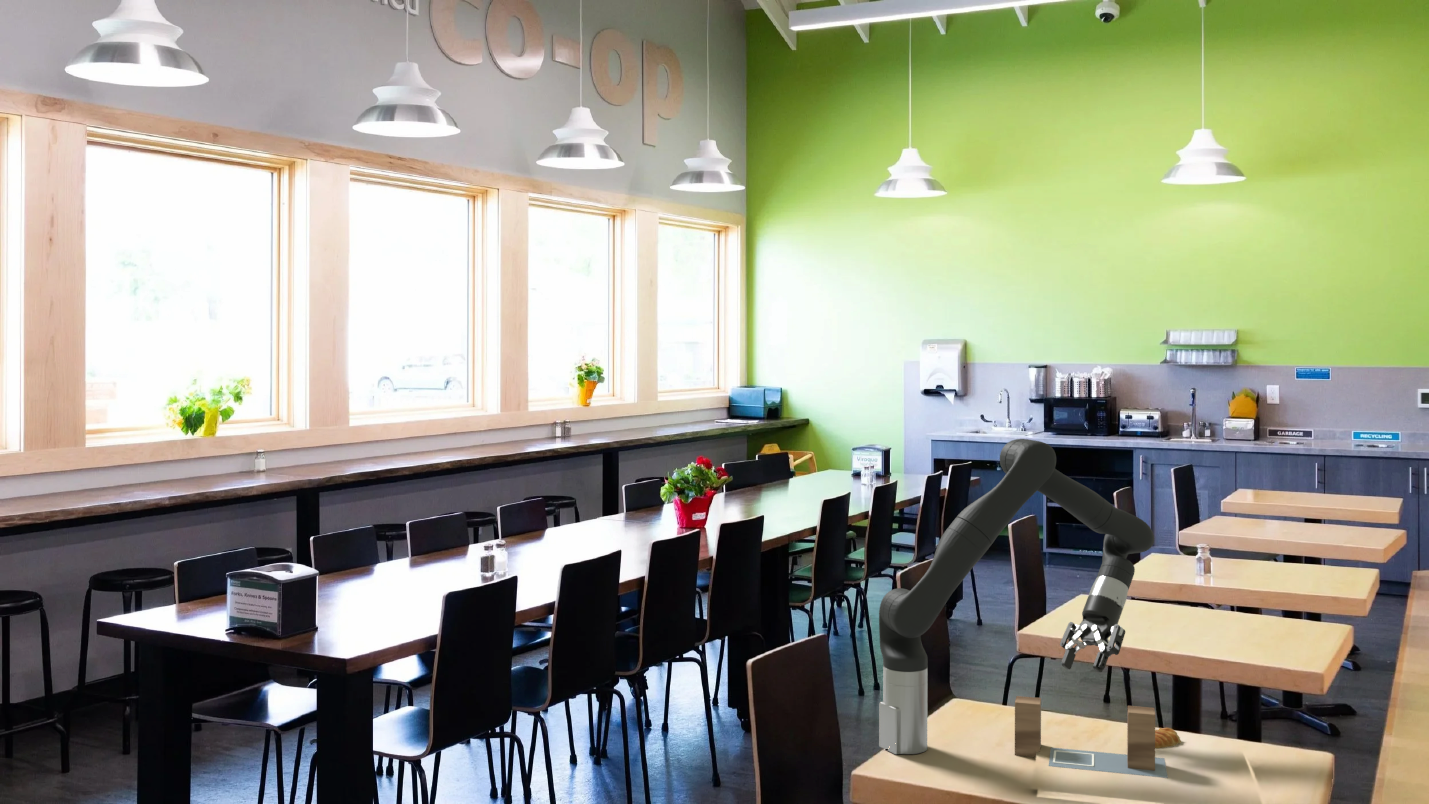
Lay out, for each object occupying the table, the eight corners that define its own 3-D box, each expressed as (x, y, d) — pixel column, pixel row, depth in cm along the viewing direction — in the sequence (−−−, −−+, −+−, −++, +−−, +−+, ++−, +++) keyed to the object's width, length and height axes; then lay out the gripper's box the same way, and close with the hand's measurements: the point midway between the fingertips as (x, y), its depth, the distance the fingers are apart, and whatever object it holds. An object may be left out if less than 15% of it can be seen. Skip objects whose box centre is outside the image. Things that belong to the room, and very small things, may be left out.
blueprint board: (1167, 784, 221) (1167, 777, 221) (1048, 771, 228) (1048, 765, 228) (1164, 764, 233) (1164, 757, 233) (1050, 753, 240) (1050, 746, 240)
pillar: (1039, 757, 237) (1039, 704, 237) (1014, 755, 239) (1014, 702, 238) (1040, 750, 242) (1041, 698, 241) (1016, 747, 243) (1016, 696, 243)
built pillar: (1155, 770, 225) (1155, 714, 225) (1127, 768, 227) (1128, 712, 227) (1153, 762, 230) (1154, 707, 230) (1127, 760, 232) (1127, 705, 231)
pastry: (1161, 757, 237) (1161, 739, 237) (1131, 750, 243) (1131, 731, 242) (1184, 748, 243) (1184, 730, 243) (1154, 741, 248) (1154, 723, 248)
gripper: (1069, 592, 255) (1044, 658, 248) (1121, 593, 243) (1096, 662, 236) (1090, 610, 257) (1066, 675, 251) (1143, 612, 245) (1119, 680, 239)
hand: (1081, 669), depth 244 cm, fingers open, 8 cm apart
